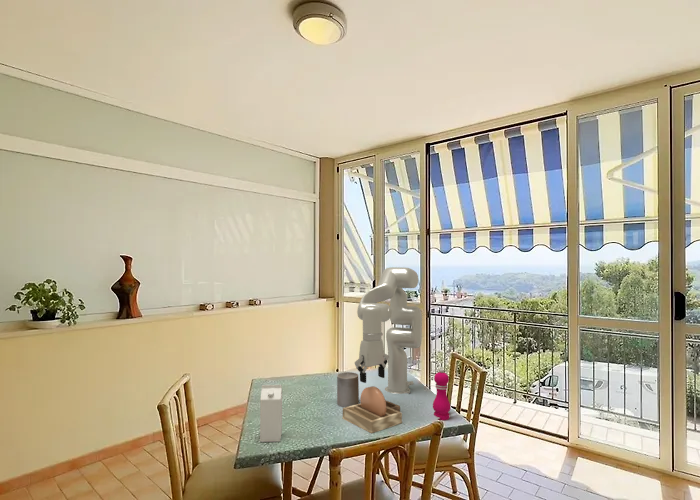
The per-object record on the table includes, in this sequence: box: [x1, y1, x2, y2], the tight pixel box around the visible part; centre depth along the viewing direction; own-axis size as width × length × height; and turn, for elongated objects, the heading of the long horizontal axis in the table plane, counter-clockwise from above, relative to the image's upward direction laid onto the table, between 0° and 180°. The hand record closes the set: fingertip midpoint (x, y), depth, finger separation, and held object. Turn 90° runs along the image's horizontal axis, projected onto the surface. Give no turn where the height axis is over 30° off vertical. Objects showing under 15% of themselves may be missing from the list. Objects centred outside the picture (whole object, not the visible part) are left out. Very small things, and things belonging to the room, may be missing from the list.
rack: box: [342, 402, 403, 434], centre depth 159 cm, size 16×18×5 cm
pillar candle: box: [336, 371, 360, 408], centre depth 178 cm, size 10×10×15 cm
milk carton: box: [259, 384, 283, 443], centre depth 146 cm, size 7×7×19 cm
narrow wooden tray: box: [385, 399, 401, 412], centre depth 173 cm, size 6×16×3 cm, turn 38°
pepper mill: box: [432, 368, 451, 421], centre depth 166 cm, size 7×7×20 cm
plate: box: [359, 385, 387, 417], centre depth 159 cm, size 2×13×13 cm, turn 37°
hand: (372, 379), depth 160 cm, fingers open, 9 cm apart
